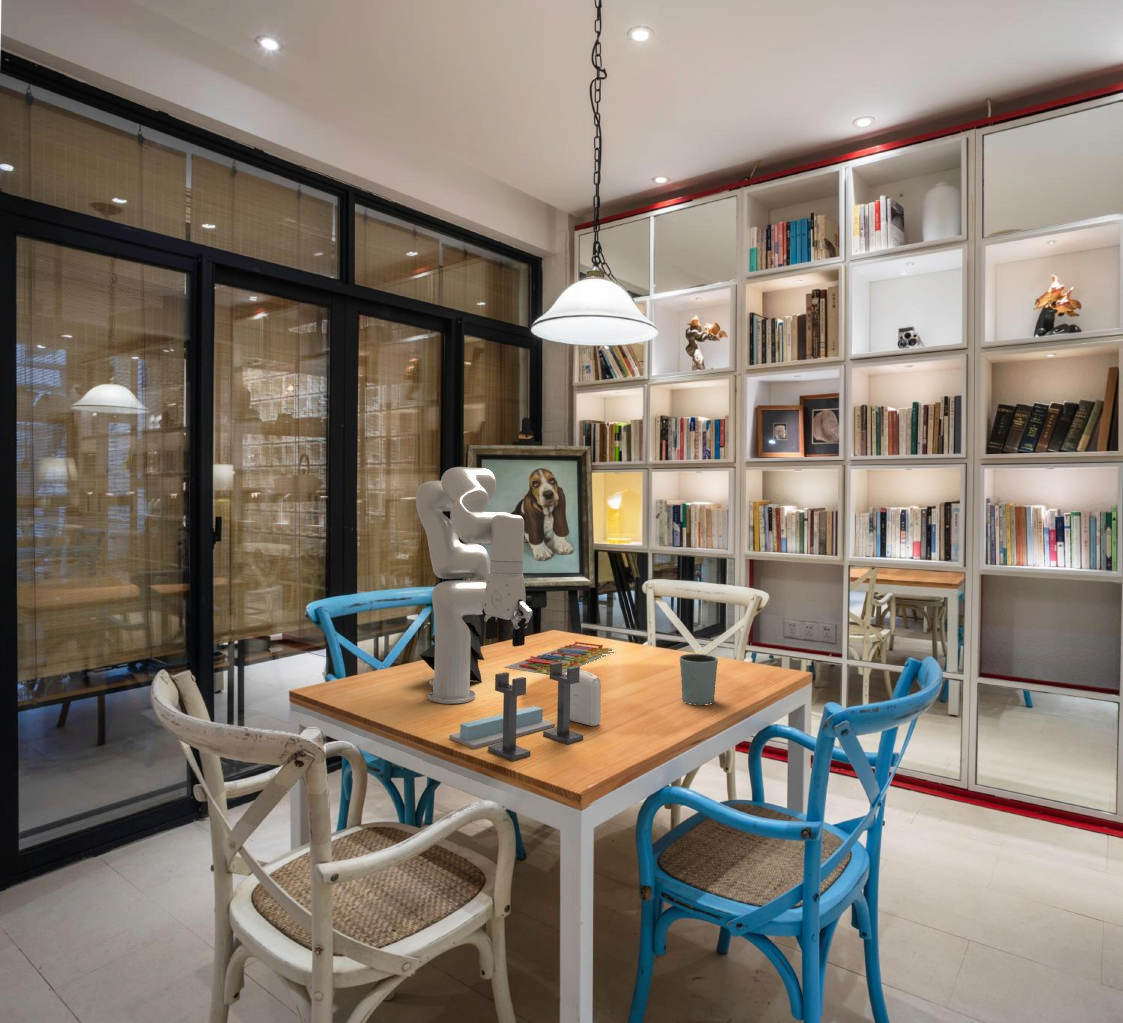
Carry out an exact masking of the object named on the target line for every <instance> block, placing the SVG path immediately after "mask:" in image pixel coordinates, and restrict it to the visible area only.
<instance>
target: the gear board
mask: <svg viewBox="0 0 1123 1023" xmlns="http://www.w3.org/2000/svg"><path fill="white" fill-rule="evenodd" d="M612 650H613V649H612V648H611V647H604V645H603V644H596V643H595V644H594V643H589V642H588V643H587V642H580V641H579V642H578V641H574V643H573V644H568V645H567V644H566V645H564V646H561V647H560V648H556V649H553V650H552V651H548V652H545V653H542V654H539V655H538V654H537V655H536V656H533V655H531V656H529V658H526V659H525V660H521V661H518V662H516V663H512V664H509V665H507V666H504V667H503V668H505V669H509V670H511V669H512V670H516V671H523V672H530V673H536V674H543V675H549V676H550V664H551V663H556V662H562V674H565V673H566V672H567V668H570V667H575V666H578V667H582V666H585V665H587V664H590V663H592V662H595V661H598V660H600V659H602V658H601V656H602V657H603V658H605V657H607V656H606V655H602V654H610V653H613V654H615V653H614V652H608V651H612ZM610 655H611V654H610ZM604 656H605V657H604ZM599 658H600V659H599ZM597 659H598V660H597ZM594 660H595V661H594ZM589 662H590V663H589ZM586 663H587V664H586Z"/></svg>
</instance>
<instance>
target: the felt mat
mask: <svg viewBox="0 0 1123 1023" xmlns="http://www.w3.org/2000/svg"><path fill="white" fill-rule="evenodd" d="M555 725H556V723H555V722H551V721H548V720H545V719H543V718H542V721H541V722H537V723H534V724H530V725H526V726H522V727H518V728H516V738H520V737H522V736H526V735H530V734H533V733H536V732H537V733H538V732H540V731H546V730H549V729H553V728H556V726H555ZM449 740H451V741H454V742H456V743H458V744H461V745H463V746H465V747H469V748H471V749H473V750H475V749H479V748H482V747H487V746H491V745H495V744H499V743H502V742H503V732H499V733H495V734H492V735H488V736H484V737H480V738H476V739H472V740H469V741H468V740H466V739H463V738H461V737H460V732H457V733H453V734H452V733H451V734H450V735H449Z"/></svg>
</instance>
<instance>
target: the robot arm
mask: <svg viewBox="0 0 1123 1023" xmlns="http://www.w3.org/2000/svg"><path fill="white" fill-rule="evenodd" d="M496 490H497V481H496V477H495V475H494V473H493V472H492V471H491V470H490V469H488V468H484V467H466V466H465V467H464V466H456V467H451V468H449V469H447V470H445V472H444V473H443V474H442V476H441V479H440V480H430V481H426V482H424V483H421V484H420V485H419V487H418V488H417V490H416V494H415V507H416V511H417V515H418V518H419V520H420V522H421V524H422V526H423V529H424V532H425V534H426V539H427V544H428V550H429V557H430V562H431V566H432V568H431V569H432V571H433V573H434V575H435V576H436V577H437V578H440V579H446V580H445V581H442V582H441V581H440V582H439V583H438V584H437V585H435V587H434V588H433V590H432V593H431V603H432V609H433V615H434V635H435V643H434V644H435V665H434V670H433V672H434V673H433V679H430V680H429V681H428V684H429V685H430V686H432V690H431V691H429V693H428V694H427V699H428V700H429V701H430V702H433V703H437V704H442V705H443V704H445V705H448V704H449V705H457V704H465V703H467V702H471V701H473V700H475V699H476V692H475V691H474V690H472V689H471V688H470V687H471V685H470V684H471V680H470V647H471V634H470V630H469V628H468V626H467V625H466V623H465V622H464V621H463V619H462V616H467V615H479V616H480V615H483V617H484V618H483V619H484V620H483V621H484V622H485V640H493V639H496V638H498V636H499V635H498V632H499V622H498V621H499V620H497V619H502V620H505V621H506V620H507V621H509V620H511V622H512V624H513V627H514V628H512V638H511V640H512V647H515V648H516V647H521V646H525V644H526V640H525V638H526V629H527V628H528V625H529V624H530V622H531V619H532V616H533V613H534V612H533V610H532V609H531V608H530V607H529V606H528V605H527V604H526V598H527V597H526V596H527V594H526V583H525V577H524V550H525V549H524V548H525V546H524V545H525V520H524V518H523V516H521V515H520V514H519V515H518V514H512V513H509V512H502V511H501V512H500V511H499V512H498V511H497V512H496V511H495V512H493V511H485V510H486V509H487V508H488V505H489V501H490V500H491V499H492V498H493V496H494V495H495V494H496ZM443 512H450V518H448V516H447V515H446V514H445V513H443ZM460 540H461V541H462V542H463V543H462V542H461V541H460ZM483 544H490V555H489V553H488V551H487V549H486V548H485V547H484V546H483ZM447 579H448V580H447ZM449 579H451V580H449ZM454 579H455V580H454Z"/></svg>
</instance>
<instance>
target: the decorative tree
mask: <svg viewBox="0 0 1123 1023" xmlns="http://www.w3.org/2000/svg"><path fill="white" fill-rule="evenodd" d="M462 619H463V621H464V622H465V623H466V625H467V626H468V628H469V630H470V634H471V647H470V682H476V683H477V682H478V683H482V682H483V681H482V675H481V674H482V673H481V671H480V668H479V661H485V658H484V656H483V653H482V649H481V648H482V647H481V643H480V639H479V637H482V625H481V624H482V623H481V617H480V615H467V616H462ZM430 638H431V640H432V642H433V644H432V645H430V647H428V648H427V649H426V650H425V651H423V652H421V653H420V654H419V657H420V658H421V659H422V660H423V662H425V663H426V665H428V667H430V668H431V670H433V671H434V665H435V634H434V635H433V636H431V637H430Z"/></svg>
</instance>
